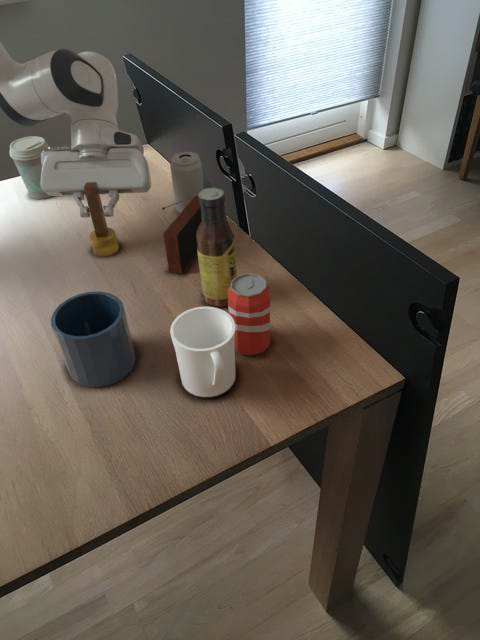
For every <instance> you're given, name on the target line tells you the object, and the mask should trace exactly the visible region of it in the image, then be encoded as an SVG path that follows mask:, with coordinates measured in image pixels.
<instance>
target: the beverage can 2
mask: <svg viewBox="0 0 480 640" xmlns="http://www.w3.org/2000/svg"><path fill="white" fill-rule="evenodd" d="M227 307H228V309H227V310H228V314H230V316H231V317H232V318H233V320H234V322H235V352H237V353H238V354H242V355H247V356H253V355H258V354H261V353H264V352H265V350H267V349H268V347H269V346H271V292H270V287H269V285H268V284H267V280H266V278H264V277H262V276H261V275H260V274H256V273H250V272H246V273H243V274H237V277H235V278H234V279H233V280H232V281H231V286H230V287H229V288H228V305H227Z"/></svg>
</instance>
